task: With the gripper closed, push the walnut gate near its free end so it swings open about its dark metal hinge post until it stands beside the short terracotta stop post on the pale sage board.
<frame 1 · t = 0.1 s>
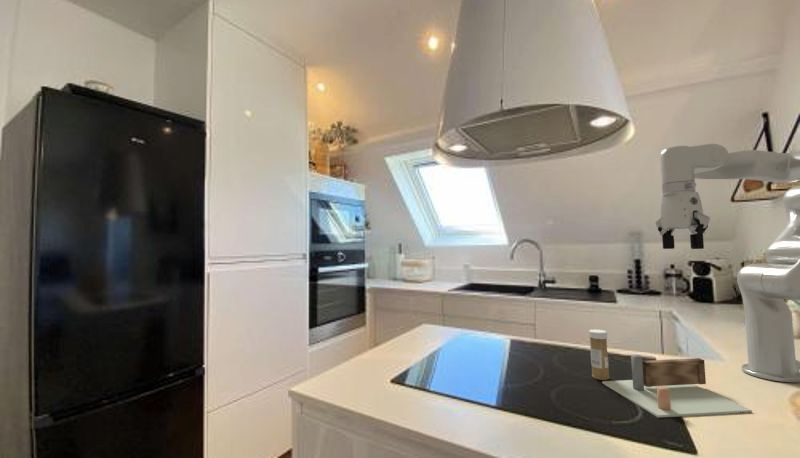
hand: (682, 248, 102), 37 cm above the counter, tool pointing down, fingers open, 9 cm apart
sprinkles bottle: (600, 378, 103), on the counter
gate frame: (669, 396, 89), on the counter
gate: (673, 372, 94), point 4 cm above the counter, hinge at 0.0°
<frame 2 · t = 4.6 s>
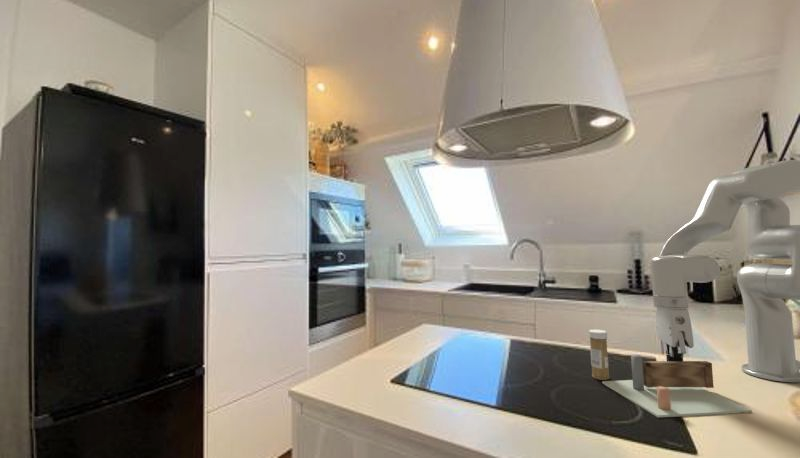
hand: (675, 370, 95), 4 cm above the counter, tool pointing down, fingers closed
gate: (677, 374, 92), point 4 cm above the counter, hinge at 7.9°, touching gripper
everything else where it was.
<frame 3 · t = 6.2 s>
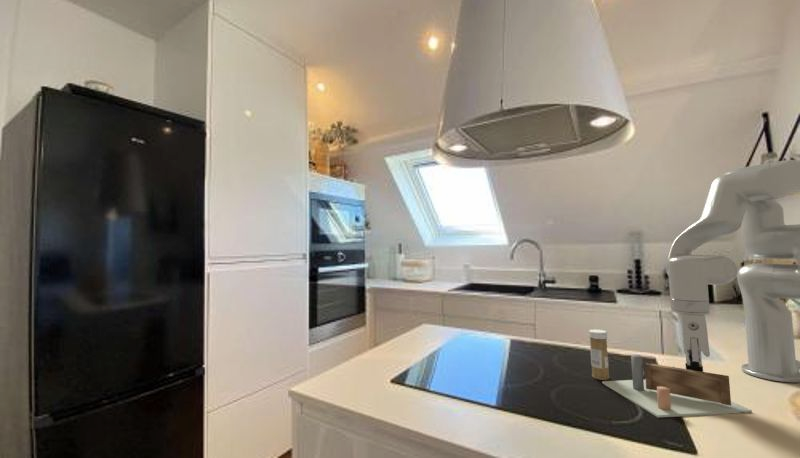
hand: (695, 380, 88), 4 cm above the counter, tool pointing down, fingers closed
gate: (685, 382, 87), point 4 cm above the counter, hinge at 44.1°, touching gripper
everything else where it was.
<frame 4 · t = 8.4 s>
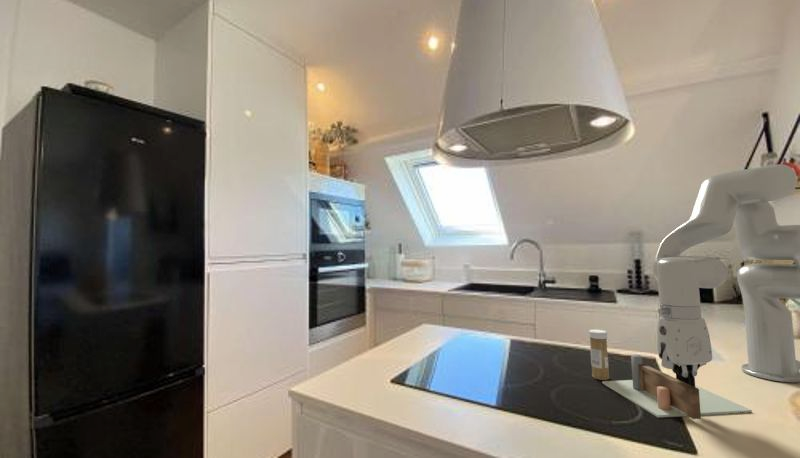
hand: (686, 392, 82), 4 cm above the counter, tool pointing down, fingers closed
gate: (666, 388, 83), point 4 cm above the counter, hinge at 91.0°, touching gripper
everything else where it was.
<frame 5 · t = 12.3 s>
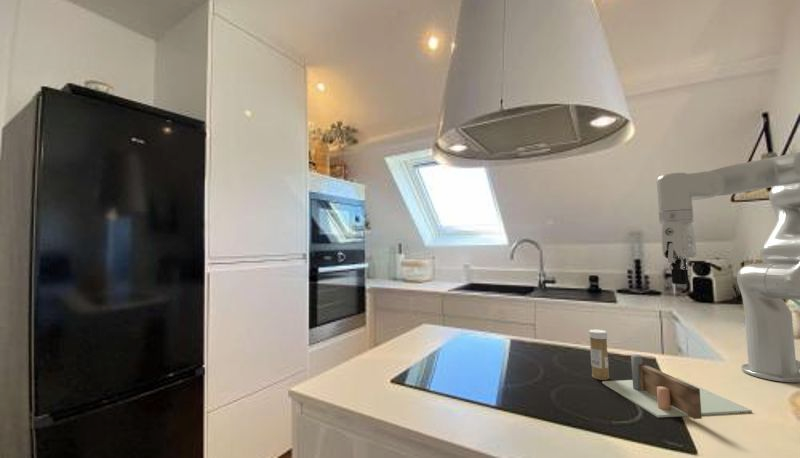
hand: (680, 283, 98), 27 cm above the counter, tool pointing down, fingers closed
gate: (667, 388, 83), point 4 cm above the counter, hinge at 90.4°
everything else where it was.
at the end: gate at +90° (first picture: +0°); sprinkles bottle moved 0.2 cm from its start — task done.
